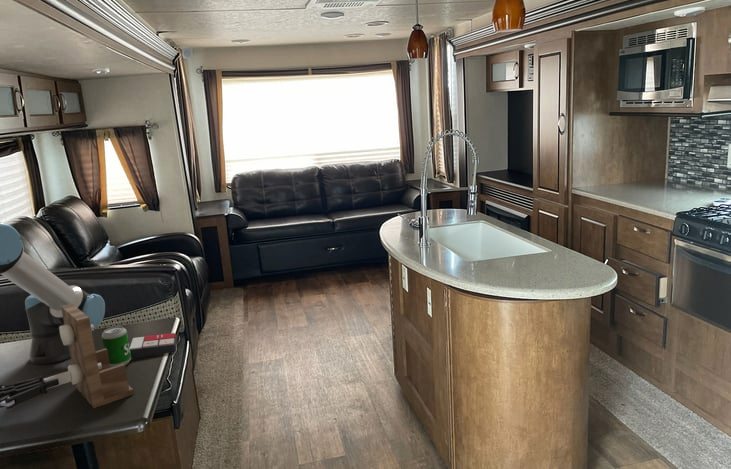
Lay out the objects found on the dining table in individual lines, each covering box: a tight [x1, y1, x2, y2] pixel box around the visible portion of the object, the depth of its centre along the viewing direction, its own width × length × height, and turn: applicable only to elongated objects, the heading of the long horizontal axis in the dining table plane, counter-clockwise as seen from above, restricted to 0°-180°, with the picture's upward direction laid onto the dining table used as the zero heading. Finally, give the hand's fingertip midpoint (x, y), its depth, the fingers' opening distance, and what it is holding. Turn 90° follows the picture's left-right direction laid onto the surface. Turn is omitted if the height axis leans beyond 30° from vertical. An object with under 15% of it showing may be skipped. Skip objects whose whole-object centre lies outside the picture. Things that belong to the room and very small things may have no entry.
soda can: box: [101, 325, 132, 367], centre depth 186 cm, size 8×8×12 cm
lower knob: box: [67, 363, 102, 385], centre depth 165 cm, size 6×8×6 cm
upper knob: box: [59, 324, 95, 345], centre depth 162 cm, size 6×8×6 cm
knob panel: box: [61, 304, 134, 409], centre depth 166 cm, size 18×11×26 cm, turn 40°
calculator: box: [129, 332, 178, 360], centre depth 197 cm, size 11×4×15 cm
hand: (70, 376), depth 162 cm, fingers closed
